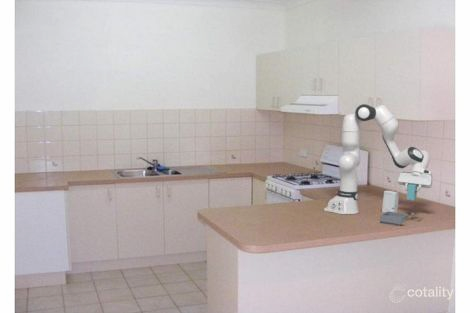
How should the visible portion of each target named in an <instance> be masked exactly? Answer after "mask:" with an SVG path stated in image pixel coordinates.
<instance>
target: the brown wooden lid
mask: <svg viewBox="0 0 470 313" xmlns="http://www.w3.org/2000/svg"><path fill="white" fill-rule="evenodd" d="M423 220H425V217H422V216H415V213H414V212H411V213H410V215H409V214H408V220H407V221H412V222H421V221H423Z"/></svg>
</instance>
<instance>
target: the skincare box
mask: <svg viewBox="0 0 470 313" xmlns="http://www.w3.org/2000/svg"><path fill="white" fill-rule="evenodd" d="M399 197H400V192H397V191H392V190H384V191H383V199H382V208H381V210H382V211H381V214H383V213H385V212H387V211H389V212H396V213H398V208H399Z"/></svg>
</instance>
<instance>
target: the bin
mask: <svg viewBox="0 0 470 313" xmlns="http://www.w3.org/2000/svg"><path fill="white" fill-rule="evenodd" d="M408 215H409V214H408V213H404V212H403V213H402V212H397V213H396V212H389V211H387V212H383V213H381V214H380V216H379V224H383V225H390V226H394V227H402V226H403V223H405V222H407V221H409V220H408Z"/></svg>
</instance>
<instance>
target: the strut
mask: <svg viewBox="0 0 470 313" xmlns="http://www.w3.org/2000/svg"><path fill="white" fill-rule="evenodd" d="M416 188H418V187H417V185H415V184H409V185H408V188H407V192H406V200H408V201H417V195H418V194H417V193H418V192H416V191H415V190H416Z"/></svg>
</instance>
